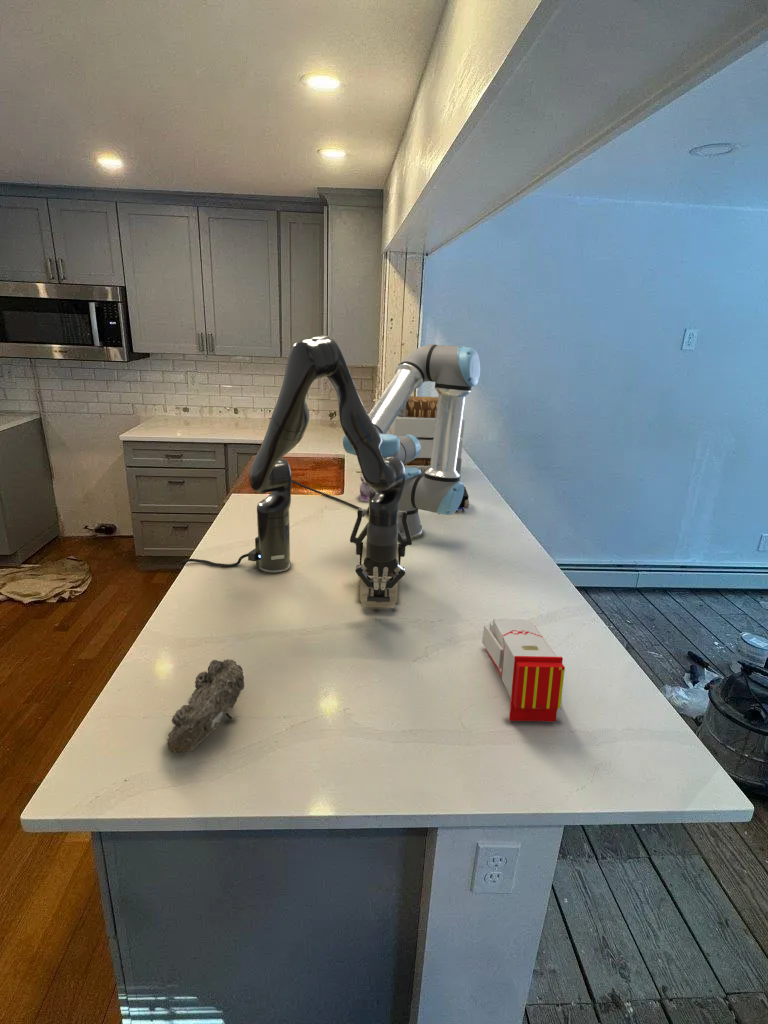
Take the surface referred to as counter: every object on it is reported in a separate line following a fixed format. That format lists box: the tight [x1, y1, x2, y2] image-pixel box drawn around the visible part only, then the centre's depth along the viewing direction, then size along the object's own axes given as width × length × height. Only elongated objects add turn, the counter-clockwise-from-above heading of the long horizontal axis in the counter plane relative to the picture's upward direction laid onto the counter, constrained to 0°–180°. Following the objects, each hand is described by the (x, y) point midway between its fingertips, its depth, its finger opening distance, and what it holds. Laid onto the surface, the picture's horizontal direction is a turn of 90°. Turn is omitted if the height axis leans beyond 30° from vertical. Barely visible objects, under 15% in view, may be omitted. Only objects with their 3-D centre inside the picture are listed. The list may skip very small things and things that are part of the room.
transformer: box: [386, 395, 465, 482], centre depth 268 cm, size 34×33×41 cm
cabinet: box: [359, 541, 399, 604], centre depth 159 cm, size 16×10×10 cm, turn 0°
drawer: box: [360, 570, 396, 609], centre depth 151 cm, size 21×9×8 cm, turn 0°
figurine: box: [358, 473, 371, 503], centre depth 232 cm, size 9×10×15 cm
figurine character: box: [455, 486, 470, 513], centre depth 227 cm, size 7×8×15 cm
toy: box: [481, 618, 566, 722], centre depth 122 cm, size 12×13×30 cm
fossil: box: [166, 658, 245, 754], centre depth 106 cm, size 22×10×15 cm
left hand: (378, 601), depth 144 cm, fingers closed
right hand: (379, 565), depth 162 cm, fingers closed on cabinet, 10 cm apart
